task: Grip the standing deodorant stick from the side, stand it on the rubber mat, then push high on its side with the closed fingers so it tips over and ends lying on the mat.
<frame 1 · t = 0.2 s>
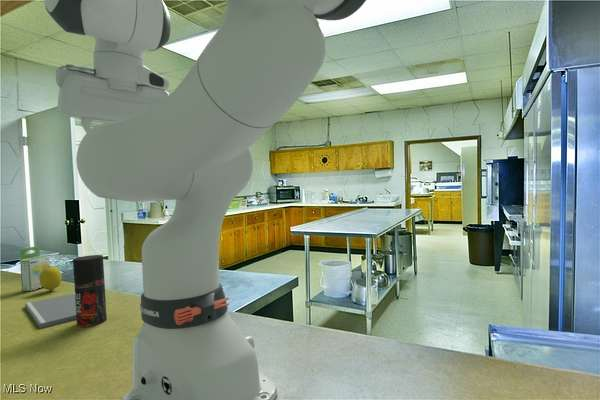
hand: (120, 145, 68), 39 cm above the table, tool pointing down, fingers open, 8 cm apart
lemon: (51, 291, 107), on the table
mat: (61, 310, 88), on the table
ink box: (37, 289, 110), on the table
deodorant: (92, 322, 79), on the table
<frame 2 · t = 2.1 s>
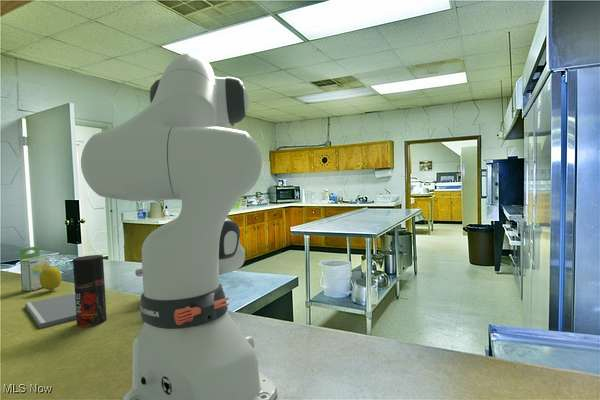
hand: (143, 276, 88), 8 cm above the table, tool horizontal, fingers open, 8 cm apart
nothing on the table moved.
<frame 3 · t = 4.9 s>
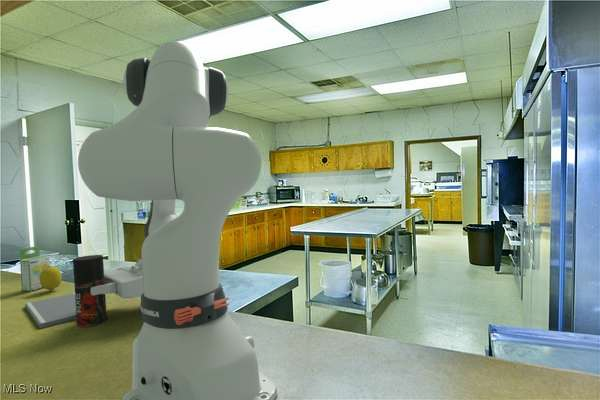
hand: (85, 288, 78), 8 cm above the table, tool horizontal, fingers closed on deodorant, 6 cm apart
deodorant: (92, 322, 79), on the table, touching gripper
everything else where it was.
when the fingers open (10 cm above the table, at t = 9.0 s): deodorant stays where it is, resting on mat.
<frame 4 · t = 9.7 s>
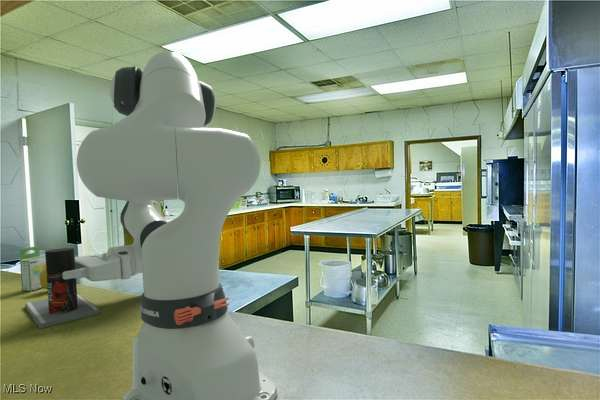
hand: (57, 272, 85), 10 cm above the table, tool horizontal, fingers open, 8 cm apart
deodorant: (63, 310, 85), point 1 cm above the table, touching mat
everything else where it was.
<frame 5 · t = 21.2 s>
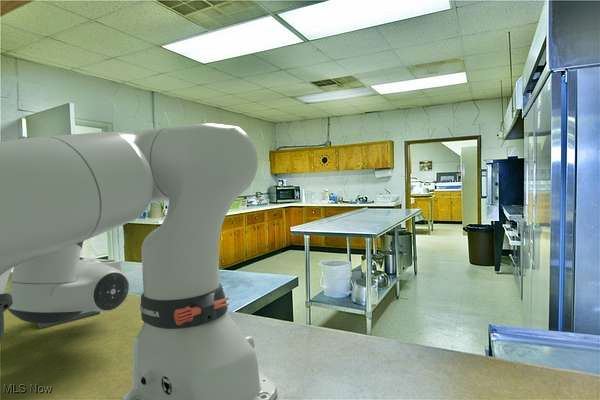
hand: (58, 273, 82), 11 cm above the table, tool horizontal, fingers closed
deodorant: (63, 309, 85), point 1 cm above the table, touching gripper, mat
everything else where it was.
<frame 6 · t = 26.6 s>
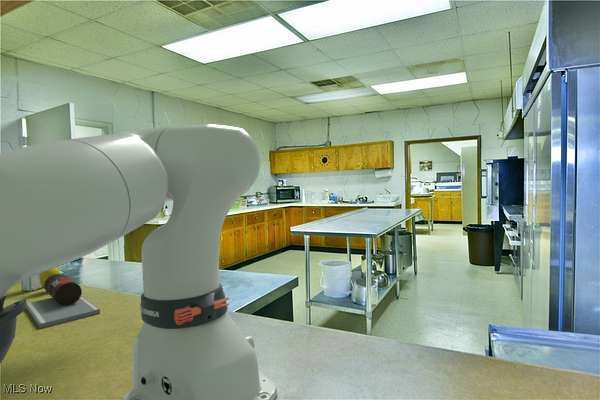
hand: (66, 210, 82), 26 cm above the table, tool horizontal, fingers closed
deodorant: (68, 294, 89), point 4 cm above the table, touching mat
everything else where it was.
at the end: deodorant tilted 90°; deodorant inside the target area (7.4 cm from its centre), point 4.0 cm above the table; the gripper is holding nothing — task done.
